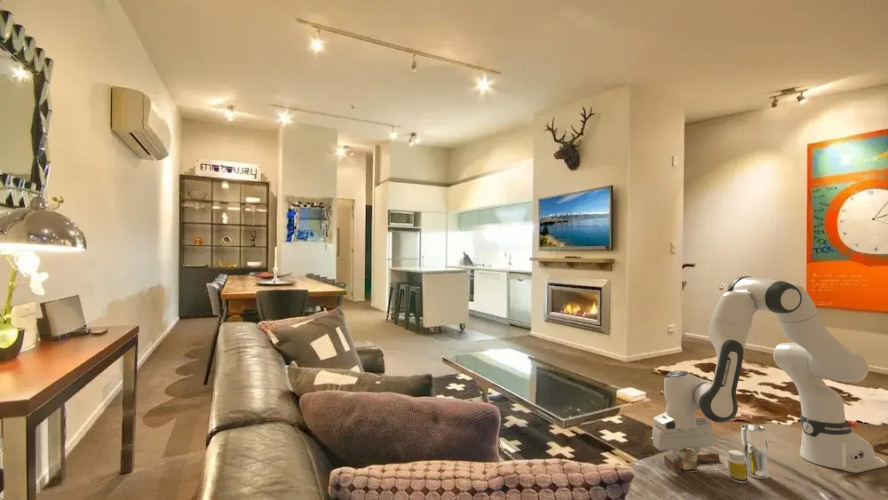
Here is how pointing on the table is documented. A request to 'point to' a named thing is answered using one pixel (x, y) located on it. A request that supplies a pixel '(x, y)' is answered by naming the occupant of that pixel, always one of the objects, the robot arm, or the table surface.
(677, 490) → the table surface
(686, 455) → the block
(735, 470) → the supplement bottle
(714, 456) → the fence board
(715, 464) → the table surface
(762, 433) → the beer glass
